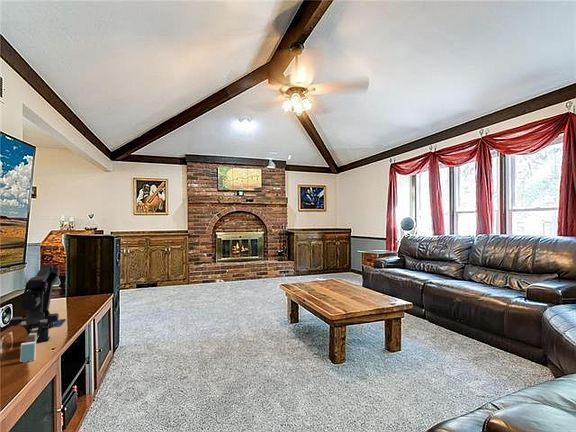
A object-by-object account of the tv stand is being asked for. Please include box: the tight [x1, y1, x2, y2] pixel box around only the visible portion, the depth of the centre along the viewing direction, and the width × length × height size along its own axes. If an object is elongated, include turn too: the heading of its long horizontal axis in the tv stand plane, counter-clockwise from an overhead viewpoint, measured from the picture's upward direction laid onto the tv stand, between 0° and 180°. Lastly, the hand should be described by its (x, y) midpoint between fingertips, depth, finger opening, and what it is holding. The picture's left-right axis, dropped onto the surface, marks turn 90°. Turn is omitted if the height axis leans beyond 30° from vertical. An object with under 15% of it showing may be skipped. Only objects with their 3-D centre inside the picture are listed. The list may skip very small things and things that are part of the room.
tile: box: [19, 341, 37, 363], centre depth 144 cm, size 2×5×8 cm, turn 121°
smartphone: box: [53, 318, 67, 328], centre depth 196 cm, size 7×1×15 cm
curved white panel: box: [26, 328, 39, 343], centre depth 154 cm, size 14×3×4 cm, turn 31°
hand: (34, 337), depth 156 cm, fingers closed on curved white panel, 3 cm apart
